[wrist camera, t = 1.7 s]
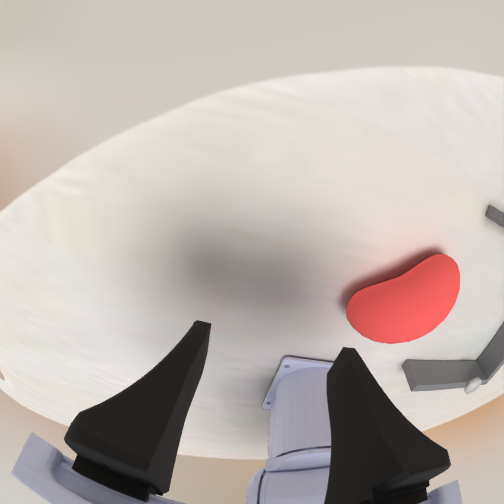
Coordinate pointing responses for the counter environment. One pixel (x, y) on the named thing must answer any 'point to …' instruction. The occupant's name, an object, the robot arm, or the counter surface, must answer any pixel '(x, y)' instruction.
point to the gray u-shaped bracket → (459, 372)
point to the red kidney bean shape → (406, 302)
